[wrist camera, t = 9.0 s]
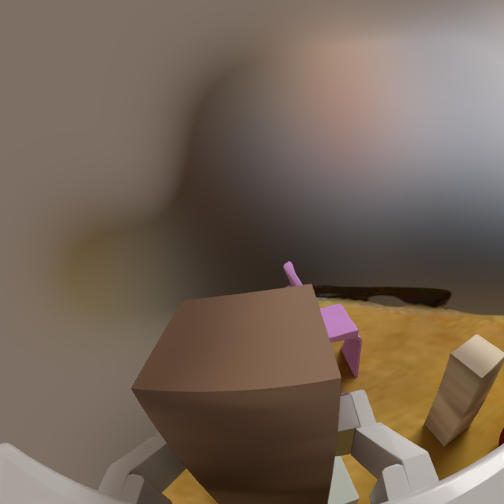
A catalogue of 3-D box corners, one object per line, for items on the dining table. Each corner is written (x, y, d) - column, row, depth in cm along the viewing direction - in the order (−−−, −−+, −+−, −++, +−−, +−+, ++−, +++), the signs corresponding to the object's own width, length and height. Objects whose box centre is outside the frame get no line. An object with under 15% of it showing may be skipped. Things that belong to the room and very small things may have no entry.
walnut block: (318, 452, 11) (311, 284, 8) (325, 515, 7) (341, 377, 4) (242, 458, 11) (182, 300, 8) (236, 519, 7) (130, 388, 4)
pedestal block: (327, 448, 20) (328, 428, 19) (352, 510, 13) (359, 498, 12) (246, 467, 20) (238, 449, 19) (258, 533, 12) (249, 526, 11)
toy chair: (364, 380, 28) (369, 266, 23) (293, 398, 28) (277, 284, 24) (344, 343, 36) (340, 243, 31) (284, 356, 36) (268, 256, 32)
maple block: (449, 405, 19) (476, 333, 16) (469, 425, 15) (506, 354, 13) (424, 423, 19) (450, 353, 16) (444, 446, 15) (481, 378, 12)
